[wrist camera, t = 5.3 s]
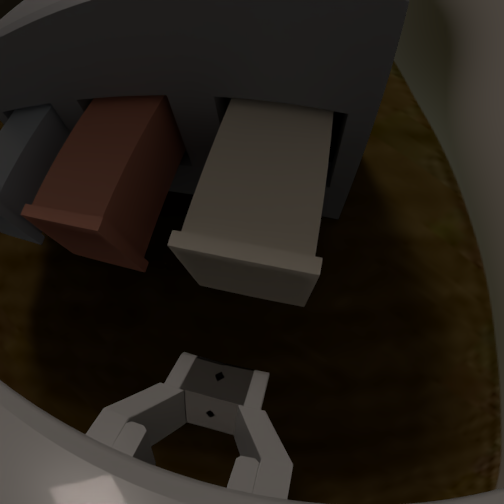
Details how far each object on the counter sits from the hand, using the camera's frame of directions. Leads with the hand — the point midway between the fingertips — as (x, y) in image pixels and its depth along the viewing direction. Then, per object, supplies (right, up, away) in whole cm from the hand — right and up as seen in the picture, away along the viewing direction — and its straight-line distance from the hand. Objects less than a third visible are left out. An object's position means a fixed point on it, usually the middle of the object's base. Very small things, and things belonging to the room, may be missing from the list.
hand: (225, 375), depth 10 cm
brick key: (-5, +7, +5) cm, 10 cm away
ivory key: (+2, +6, +4) cm, 7 cm away
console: (-4, +11, +10) cm, 15 cm away
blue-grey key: (-12, +8, +6) cm, 16 cm away
